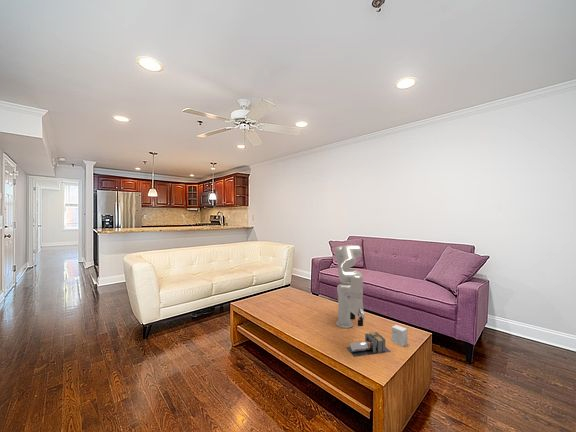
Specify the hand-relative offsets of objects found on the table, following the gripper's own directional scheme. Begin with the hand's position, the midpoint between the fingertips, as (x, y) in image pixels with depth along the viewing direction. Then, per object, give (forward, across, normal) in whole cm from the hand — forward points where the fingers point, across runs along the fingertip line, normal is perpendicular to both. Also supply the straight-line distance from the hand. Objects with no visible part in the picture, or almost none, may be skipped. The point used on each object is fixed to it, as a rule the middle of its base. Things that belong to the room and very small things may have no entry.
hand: (356, 322), depth 158 cm
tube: (+18, -1, +6) cm, 19 cm away
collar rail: (+19, -1, +9) cm, 21 cm away
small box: (+19, -4, +33) cm, 38 cm away
